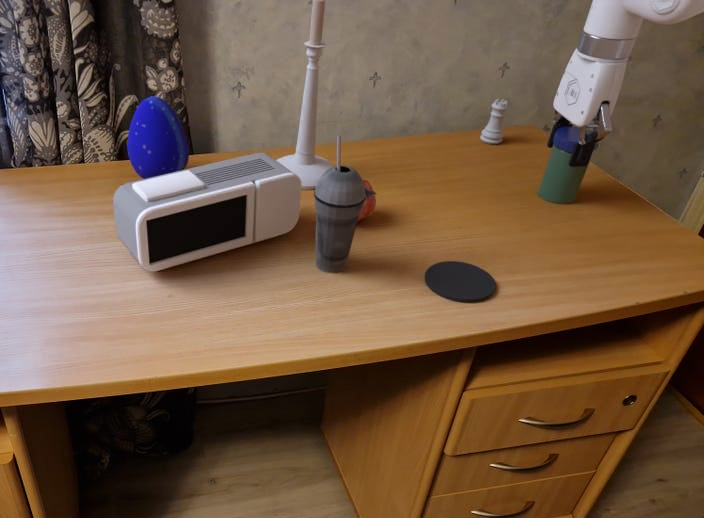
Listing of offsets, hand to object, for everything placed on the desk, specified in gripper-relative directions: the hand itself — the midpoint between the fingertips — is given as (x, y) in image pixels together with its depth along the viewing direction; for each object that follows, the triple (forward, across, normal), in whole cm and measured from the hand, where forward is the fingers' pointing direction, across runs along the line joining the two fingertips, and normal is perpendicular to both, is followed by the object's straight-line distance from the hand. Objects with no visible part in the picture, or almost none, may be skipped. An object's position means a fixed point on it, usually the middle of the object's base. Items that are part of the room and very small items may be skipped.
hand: (566, 155), depth 116 cm
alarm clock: (+8, +11, -62) cm, 64 cm away
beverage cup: (+8, +19, -45) cm, 49 cm away
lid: (-3, 0, +1) cm, 3 cm away
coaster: (+8, +25, -27) cm, 37 cm away
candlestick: (+8, -12, -43) cm, 45 cm away
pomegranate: (+8, +5, -38) cm, 39 cm away
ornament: (+7, -12, -70) cm, 71 cm away
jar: (+8, 0, +1) cm, 8 cm away
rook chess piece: (+8, -24, -1) cm, 26 cm away
